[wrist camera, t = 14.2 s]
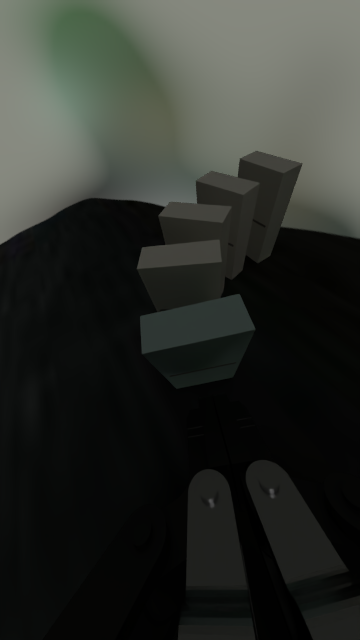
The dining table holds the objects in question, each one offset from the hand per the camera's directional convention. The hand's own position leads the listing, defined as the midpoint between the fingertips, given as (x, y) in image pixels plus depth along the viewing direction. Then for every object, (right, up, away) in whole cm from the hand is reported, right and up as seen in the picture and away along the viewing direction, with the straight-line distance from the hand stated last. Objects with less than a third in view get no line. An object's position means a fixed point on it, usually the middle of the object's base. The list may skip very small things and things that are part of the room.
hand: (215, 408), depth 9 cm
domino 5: (+7, +14, +13) cm, 21 cm away
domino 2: (+1, +8, +11) cm, 14 cm away
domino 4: (0, 0, +6) cm, 6 cm away
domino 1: (+3, +12, +13) cm, 17 cm away
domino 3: (-1, +4, +9) cm, 10 cm away
